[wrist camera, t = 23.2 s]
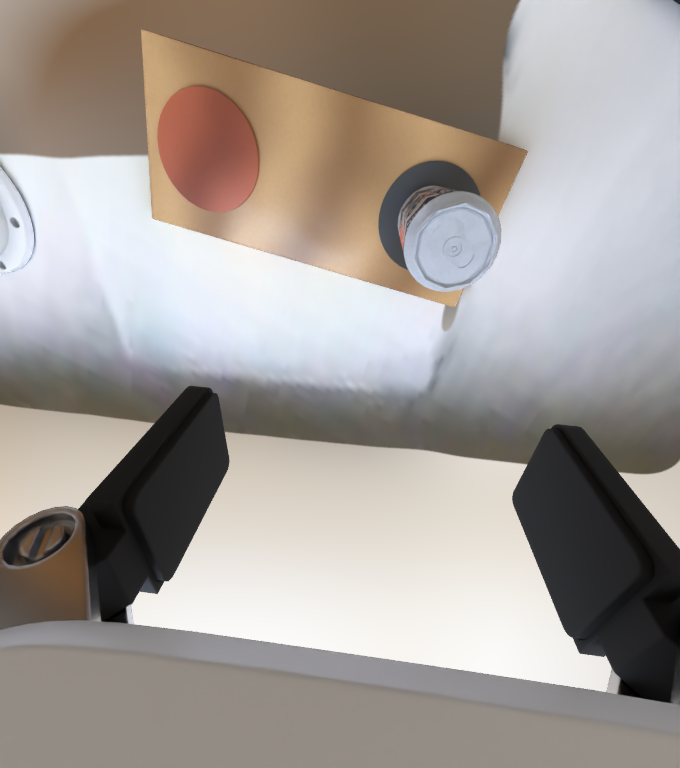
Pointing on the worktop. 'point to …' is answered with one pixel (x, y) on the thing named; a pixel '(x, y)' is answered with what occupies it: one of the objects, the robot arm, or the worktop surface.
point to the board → (301, 163)
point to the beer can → (448, 237)
